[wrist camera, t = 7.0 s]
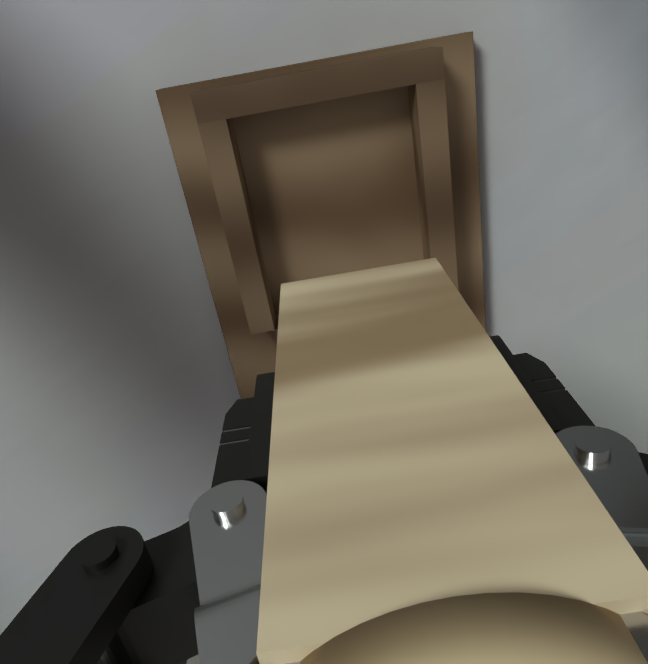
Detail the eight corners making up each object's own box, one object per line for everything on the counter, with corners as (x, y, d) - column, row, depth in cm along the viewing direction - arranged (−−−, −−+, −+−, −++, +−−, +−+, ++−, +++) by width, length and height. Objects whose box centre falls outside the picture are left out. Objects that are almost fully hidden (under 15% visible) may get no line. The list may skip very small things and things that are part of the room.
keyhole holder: (160, 89, 26) (144, 93, 23) (466, 32, 25) (486, 30, 23) (272, 500, 37) (271, 535, 34) (487, 466, 37) (502, 499, 34)
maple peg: (262, 272, 14) (184, 776, 4) (450, 239, 14) (815, 686, 4) (296, 425, 17) (297, 1000, 7) (461, 398, 16) (720, 947, 6)
